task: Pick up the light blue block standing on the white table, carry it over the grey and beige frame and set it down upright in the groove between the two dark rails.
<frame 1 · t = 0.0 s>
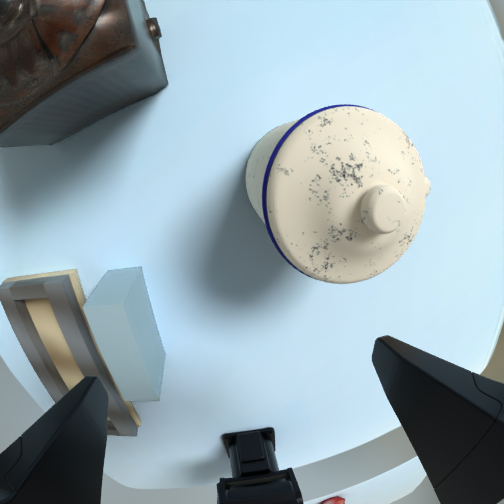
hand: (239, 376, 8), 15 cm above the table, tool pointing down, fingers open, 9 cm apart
manual coffee grinder: (89, 37, 15), on the table
grey and beige frame: (74, 361, 24), on the table
teacup with lid: (318, 176, 21), on the table
liquor: (330, 499, 49), on the table
light blue block: (137, 315, 23), on the table
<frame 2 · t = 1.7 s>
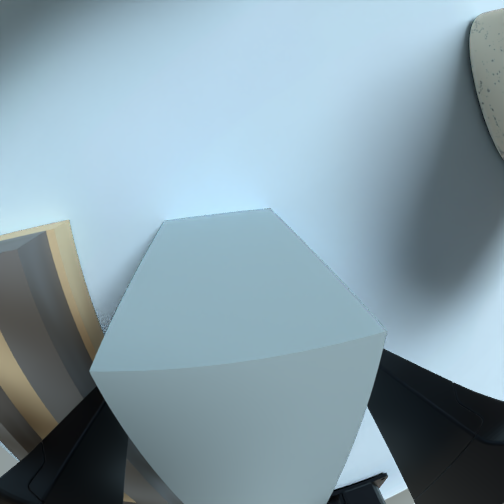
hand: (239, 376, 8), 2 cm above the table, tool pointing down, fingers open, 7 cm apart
grey and beige frame: (73, 426, 10), on the table
light blue block: (233, 342, 10), on the table
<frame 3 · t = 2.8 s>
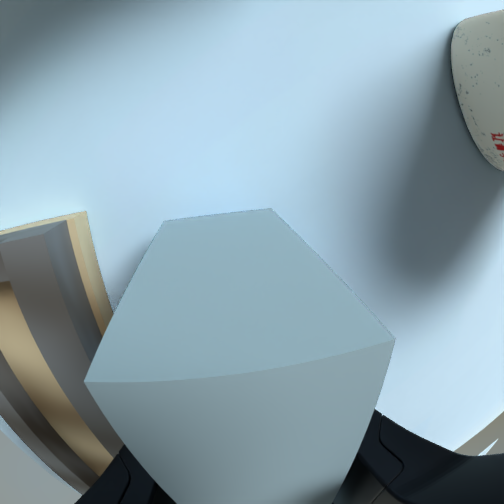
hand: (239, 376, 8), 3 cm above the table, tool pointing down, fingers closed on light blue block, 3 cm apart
grey and beige frame: (79, 409, 12), on the table
light blue block: (234, 344, 9), point 1 cm above the table, touching gripper
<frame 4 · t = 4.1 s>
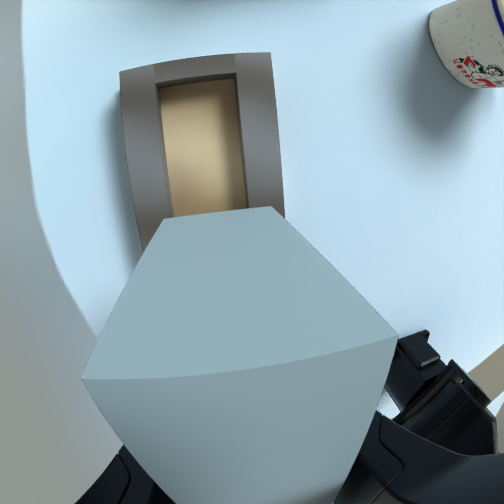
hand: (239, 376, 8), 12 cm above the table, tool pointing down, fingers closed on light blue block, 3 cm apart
grey and beige frame: (211, 220, 18), on the table
teacup with lid: (466, 51, 16), on the table
light blue block: (234, 343, 9), point 10 cm above the table, touching gripper
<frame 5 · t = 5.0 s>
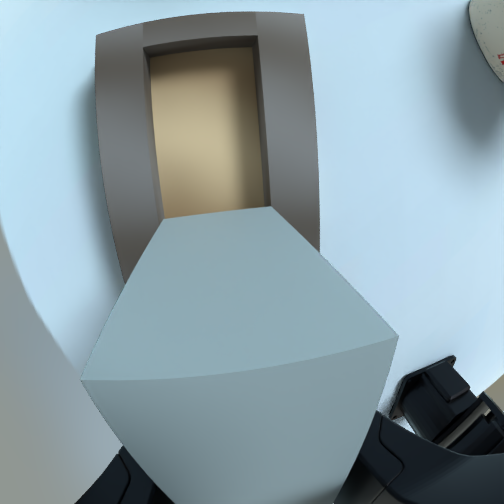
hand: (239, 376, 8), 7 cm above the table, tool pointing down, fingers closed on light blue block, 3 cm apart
grey and beige frame: (217, 237, 14), on the table
teacup with lid: (503, 47, 11), on the table
light blue block: (234, 344, 9), point 6 cm above the table, touching gripper
when the fingers open (4 cm above the table, at t = 5.7 s): light blue block drops 2 cm, resting on grey and beige frame.
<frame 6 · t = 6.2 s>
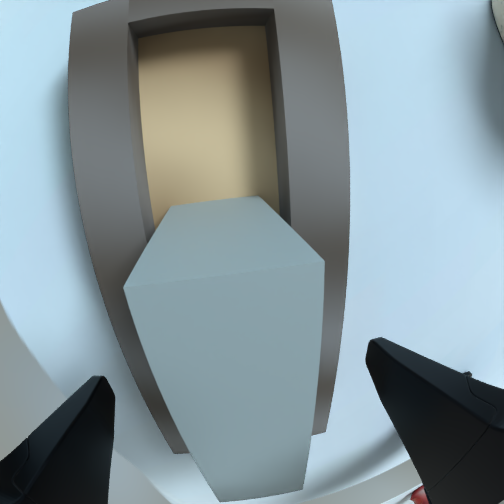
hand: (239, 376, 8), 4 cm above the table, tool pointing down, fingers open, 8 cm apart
grey and beige frame: (221, 258, 11), on the table
liquor: (421, 486, 36), on the table
light blue block: (229, 313, 11), point 1 cm above the table, touching grey and beige frame
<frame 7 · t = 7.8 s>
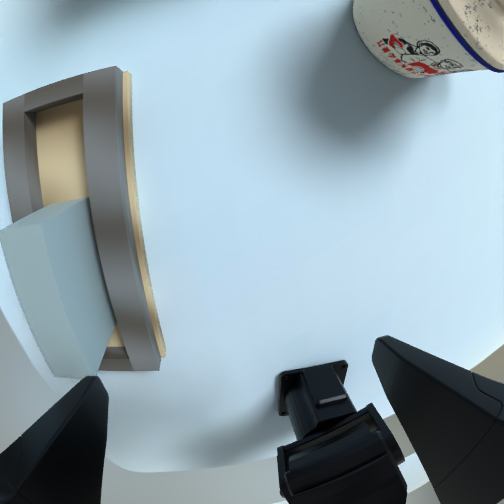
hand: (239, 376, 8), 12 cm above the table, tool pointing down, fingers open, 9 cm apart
grey and beige frame: (81, 233, 17), on the table
teacup with lid: (410, 35, 15), on the table
light blue block: (82, 266, 17), point 1 cm above the table, touching grey and beige frame
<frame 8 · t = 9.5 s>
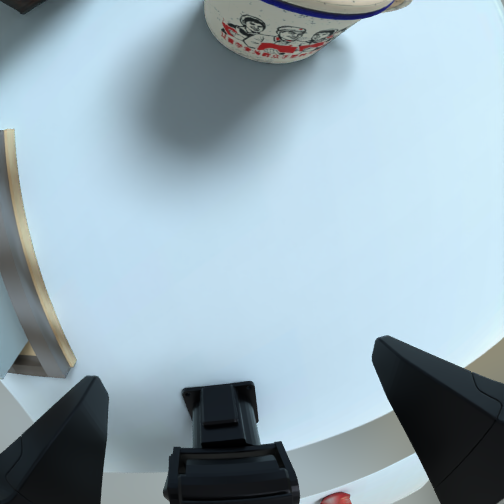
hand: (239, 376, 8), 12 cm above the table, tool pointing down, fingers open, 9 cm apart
grey and beige frame: (0, 263, 17), on the table
teacup with lid: (289, 14, 14), on the table
liquor: (332, 495, 42), on the table
light blue block: (2, 289, 17), point 1 cm above the table, touching grey and beige frame
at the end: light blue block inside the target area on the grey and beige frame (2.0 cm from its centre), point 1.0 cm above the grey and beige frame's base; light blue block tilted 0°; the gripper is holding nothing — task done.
